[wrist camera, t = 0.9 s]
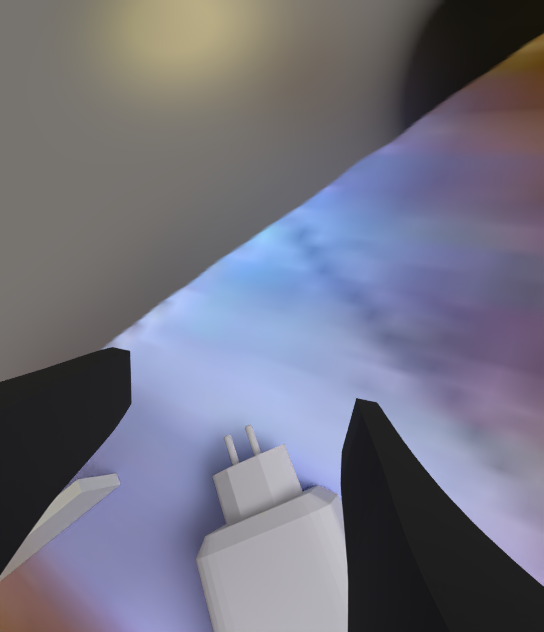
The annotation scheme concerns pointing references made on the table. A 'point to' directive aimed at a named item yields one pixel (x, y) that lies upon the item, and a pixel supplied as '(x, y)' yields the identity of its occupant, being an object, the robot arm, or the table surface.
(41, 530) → the box
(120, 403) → the robot arm
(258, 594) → the charger
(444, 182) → the table surface
